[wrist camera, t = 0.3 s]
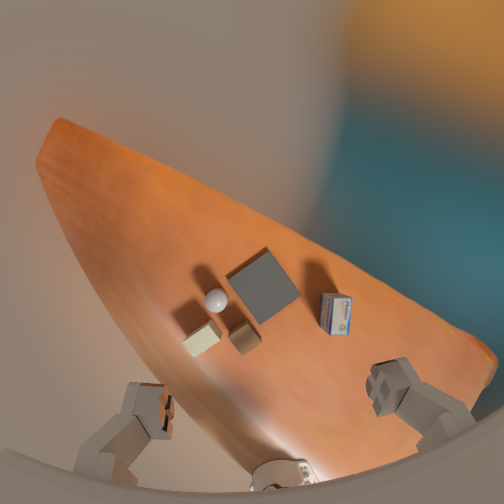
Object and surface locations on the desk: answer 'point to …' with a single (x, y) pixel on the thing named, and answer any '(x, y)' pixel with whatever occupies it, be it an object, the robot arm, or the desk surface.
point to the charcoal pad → (264, 287)
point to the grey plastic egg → (216, 300)
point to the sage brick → (202, 338)
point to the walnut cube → (244, 337)
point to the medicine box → (335, 313)
